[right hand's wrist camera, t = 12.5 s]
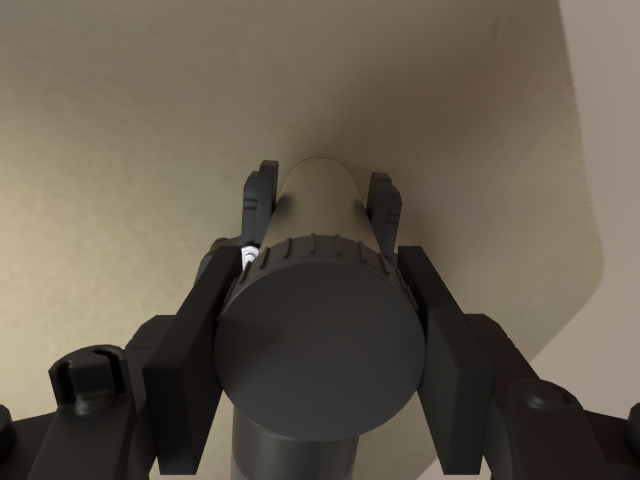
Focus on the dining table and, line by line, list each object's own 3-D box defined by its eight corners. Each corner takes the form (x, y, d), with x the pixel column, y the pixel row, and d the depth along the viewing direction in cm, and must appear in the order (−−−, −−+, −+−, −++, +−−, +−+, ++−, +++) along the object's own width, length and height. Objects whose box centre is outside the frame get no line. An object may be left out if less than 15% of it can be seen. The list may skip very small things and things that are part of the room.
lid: (264, 414, 13) (256, 463, 12) (195, 264, 11) (172, 296, 10) (432, 371, 13) (450, 416, 11) (386, 206, 11) (399, 228, 9)
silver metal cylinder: (296, 238, 27) (266, 437, 12) (272, 170, 26) (200, 296, 10) (365, 217, 27) (428, 396, 11) (344, 147, 25) (384, 242, 10)
